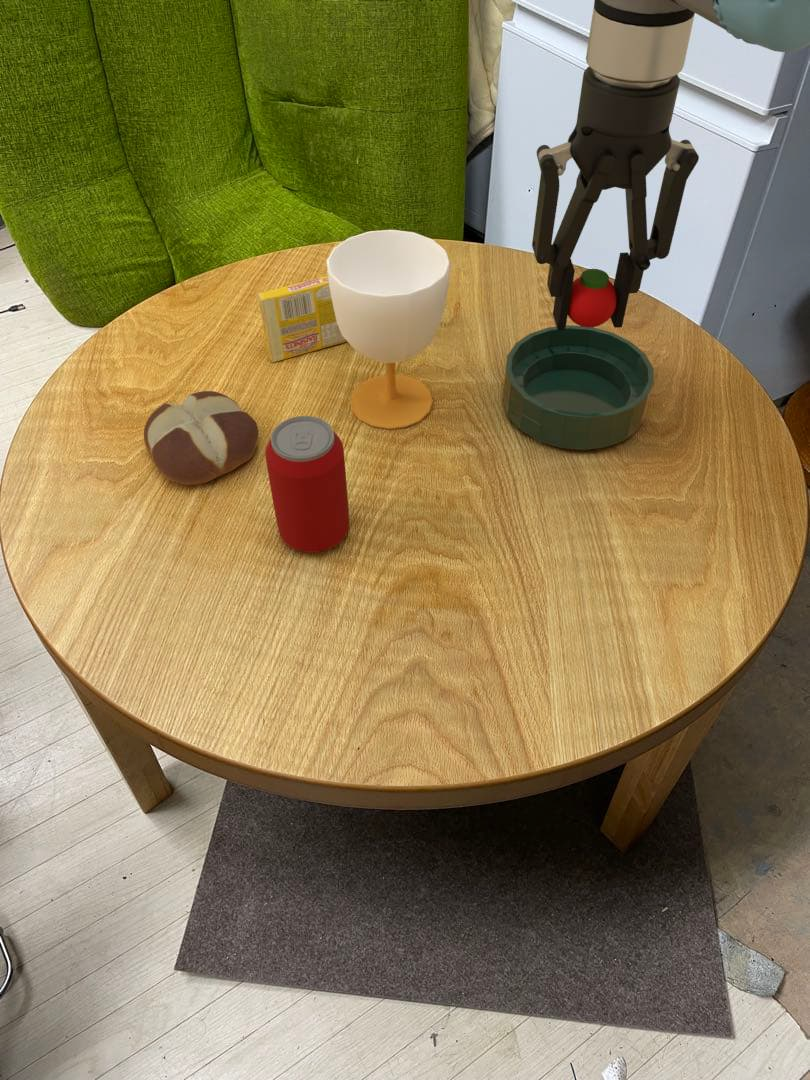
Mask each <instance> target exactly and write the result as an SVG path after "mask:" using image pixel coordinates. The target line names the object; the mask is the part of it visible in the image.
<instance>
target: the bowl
mask: <svg viewBox="0 0 810 1080" xmlns="http://www.w3.org/2000/svg"><path fill="white" fill-rule="evenodd" d="M654 385H655V372H654V367H653V365H652V363H651V360H649V357H648V356H647V354H646V353H645V352H644V351H642V350H641V348H639V347H638V346H637V345H635V344H634V343H633V341H631V340H629V339H627V338H624V337H623V336H620V335H619V334H617V333H614V332H612V331H608V330H606V329H605V330H604V329H601V328H597V327H583V326H580V325H573V324H566V328H565V330H557V327H556V326H549V327H546V328H543V329H539V330H537V331H533V332H531V333H529V334H527V335H525V336H524V337H523V338H521V339H519V340H518V341H517V342H515V344H514V345H513V347H512V348H511V350H510V351H509V352H508V354H507V355H506V362H505V371H504V382H503V392H502V405H503V407H504V411H505V414H506V416H507V417H508V418H509V420H510V421H511V422H512V423H513V424H514V425H515V426H516V427H517V428H518V429H519V430H520V432H523V433H524V434H526V435H528V436H530V437H531V438H533V439H534V440H536V441H538V442H540V443H544V444H547V445H550V446H553V447H556V448H560V449H567V450H579V451H589V450H596V449H597V450H598V449H603V448H609V447H611V446H614V445H616V444H620V443H621V442H625V441H626V440H627V439H629V438H630V437H631V436H632V435H633V434H635V433H636V432H637V431H638V430H639V429H640V428H641V425H642V424H643V422H644V420H645V418H646V416H647V411H648V408H649V404H650V400H651V397H652V393H653V389H654Z"/></svg>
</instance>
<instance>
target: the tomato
mask: <svg viewBox="0 0 810 1080" xmlns="http://www.w3.org/2000/svg"><path fill="white" fill-rule="evenodd" d="M613 285H614V283H612V282H611V280H610V276H609V274H608V273H607V272H606V271H604V270H602V269H599V268H587V269H585V270H582V272H581V275H580V276H578V277H576V279H573V285H572V291H571V297H570V304H569V310H568V316H567V317H568V318H569V319H570V320H571V322H573V323H574V324H575V325H576V326H583V327H594V328H597V327H599V326H601V325H603V324H605V323H606V322H607V321H608V320H609V319H611V318H610V317H611V316H612V314H613V313H614V311H615V308H616V305H617V293H616V290H615V288H614V286H613Z"/></svg>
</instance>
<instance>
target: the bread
mask: <svg viewBox="0 0 810 1080" xmlns="http://www.w3.org/2000/svg"><path fill="white" fill-rule="evenodd" d="M258 439H259V427H258V424H257V422H256V420H255V419H254V418H253V417H252V416H251V415H250V414H249V413H248V412H246V411H243V410H242V408H241V406H240V405H239V404H238V403H237V402H236V401H235V400H234V399H233V398H231V397H229V396H228V395H226V394H223V393H221V392H218V391H214V390H203V391H202V390H201V391H197V392H193V393H190V394H188V395H187V396H186V397H185V399H183V401H182V403H181V404H178V403H173V402H165V403H163V404H162V405H160V406H159V407H158V408H156V409H155V410H154V411H153V412H152V413H150V415H149V417H148V418H147V420H146V422H145V425H144V428H143V440H144V443H145V447H146V449H147V450H148V452H149V453H150V455H151V458H152V460H153V462H154V465H155V466H156V468H157V470H158V471H159V472H160V473H161V474H162V475H163V476H164V478H166V479H168V480H170V481H172V482H174V483H177V484H180V485H187V486H189V485H191V486H193V485H200V484H205V483H209V482H211V481H213V480H214V479H216V478H218V477H220V476H223V475H225V474H227V473H230V472H232V471H233V470H235V469H237V468H238V467H239V466H240V465H243V464H245V463H246V462H249V460H251V458H252V457H253V456H254V453H255V451H256V447H257V444H258Z"/></svg>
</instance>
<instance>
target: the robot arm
mask: <svg viewBox="0 0 810 1080" xmlns="http://www.w3.org/2000/svg"><path fill="white" fill-rule="evenodd" d="M695 14H696V15H698V16H699V17H702V18H703V19H705V20H707V21H709V22H711V23H712V24H714V25H716V26H718V27H720V28H721V29H723V30H724V31H726V33H727V34H730V35H731V36H732V37H734V38H735V39H737V40H742V41H743V42H745V43H746V44H750V45H757V46H760V47H762V48H765V49H767V50H770V51H772V52H778V53H791V52H792V53H793V52H796V51H800V50H802V49H804V48H806V47H808V46H810V0H594V2H593V9H592V16H591V21H590V29H589V35H588V36H589V37H588V41H587V47H586V54H585V60H586V61H585V62H586V64H587V65H588V66H587V67H586V68H585V70H584V71H583V75H582V82H581V88H580V95H579V103H578V109H577V115H576V116H577V117H576V123H575V126H574V128H573V130H572V132H571V133H570V135H569V136H568V139H567V141H566V142H564V143H562V144H561V143H560V144H559V145H556V146H554V147H551V148H550V146H549V145H547V144H542V145H540V146H539V147H538V148H537V149H536V157H537V161H538V166H539V170H540V177H539V186H538V194H537V203H536V209H535V216H534V217H535V218H534V224H533V225H534V226H533V234H532V241H531V247H532V251H533V254H534V257H535V261H536V262H537V263H538V264H539V265H544V264H548V265H549V266H548V267H549V268H548V274H547V282H546V286H547V289H548V292H549V295H550V297H551V298H554V301H553V309H552V315H553V320H554V323H555V327H557V330H565V328H566V325H567V321H568V317H569V316H568V310H569V304H570V297H571V291H572V285H573V281H574V280H575V272H576V269H575V266H574V265H573V261H572V255H573V253H574V251H575V249H576V247H577V244H578V242H579V239H580V237H581V235H582V233H583V230H584V228H585V226H586V223H587V221H588V219H589V216H590V214H591V212H592V209H593V207H594V205H595V203H597V202H598V200H599V199H600V196H601V194H602V191H606V190H609V189H613V188H617V189H621V190H625V191H624V192H625V206H626V207H625V208H626V221H627V236H628V237H627V238H628V250H629V251H627V252H619V257H618V261H617V267H616V272H615V276H614V281H613V286H614V288H615V290H616V293H617V305H616V308H615V311H614V313H613V314H612V316H611V317H610V318H609V319H610V320H611V323H612V325H613V328H614V329H617V328H618V329H619V328H623V323H624V319H625V315H626V310H627V305H628V301H629V296H630V294H637V293H639V290H640V288H641V284H642V282H643V281H642V280H643V276H644V272H645V271H646V270H648V269H649V268H650V267H651V260H654V259H658V260H663V259H666V258H667V257H669V254H670V250H671V246H672V243H673V238H674V235H675V230H676V226H677V223H678V218H679V213H680V209H681V206H682V201H683V197H684V192H685V188H686V185H687V181H688V179H689V177H690V176H691V174H692V173H693V170H694V169H695V167H696V166H697V164H698V162H699V159H700V156H699V154H698V152H697V150H696V149H695V147H694V146H693V145H692V142H691V141H690V140H689V139H682V140H680V141H678V140H675V139H672V137H671V133H670V126H671V123H672V120H673V115H674V110H675V106H676V101H677V96H678V92H679V88H680V83H681V79H680V77H679V75H678V74H680V73H681V72H682V71H683V69H684V66H685V63H686V58H687V53H688V47H689V42H690V39H691V33H692V29H693V23H694V20H695ZM663 158H664V163H665V168H664V171H663V175H662V181H661V184H660V190H659V195H658V199H657V204H656V208H655V213H654V216H653V217H654V218H653V222H652V225H651V231H650V236H649V238H648V221H647V220H648V218H647V199H646V198H647V196H648V191H647V190H648V189H647V176H648V175H649V174H650V173H651V171H653V169H654V168H655V167H656V166H657V165H658V164H659V163H660V162H661V161H662V160H663ZM571 159H572V160H573V162H574V163H575V164H576V166H577V168H578V169H579V173H578V175H577V177H576V182H575V188H574V190H573V192H572V195H571V197H570V200H569V202H568V205H567V207H566V210H565V213H564V216H563V218H562V220H561V223H560V225H559V227H558V230H557V232H556V234H555V236H554V229H555V222H556V215H557V207H558V201H559V194H560V176H563V175H564V173H565V171H566V169H567V164H568V161H570V160H571ZM553 237H554V239H553Z"/></svg>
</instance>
